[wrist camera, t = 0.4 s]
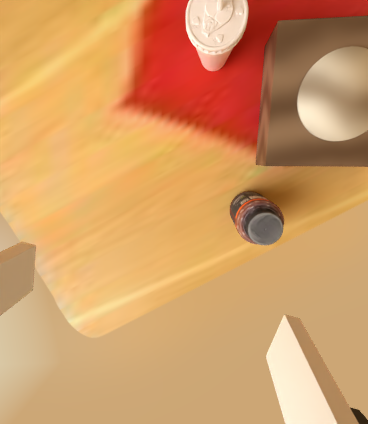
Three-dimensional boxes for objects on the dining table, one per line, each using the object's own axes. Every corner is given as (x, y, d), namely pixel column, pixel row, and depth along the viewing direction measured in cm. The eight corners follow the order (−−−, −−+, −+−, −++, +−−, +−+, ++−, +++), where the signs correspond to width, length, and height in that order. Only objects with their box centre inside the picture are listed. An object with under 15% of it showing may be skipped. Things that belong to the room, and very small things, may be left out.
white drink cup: (245, 47, 31) (276, -38, 17) (219, 90, 33) (227, 43, 19) (208, 20, 31) (208, -88, 17) (182, 65, 32) (165, -1, 19)
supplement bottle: (255, 231, 37) (275, 262, 26) (223, 216, 37) (229, 241, 26) (273, 199, 36) (302, 218, 25) (239, 184, 36) (254, 196, 25)
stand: (265, 46, 31) (279, 18, 25) (390, 40, 29) (439, 9, 23) (255, 164, 35) (266, 166, 28) (366, 165, 33) (402, 166, 27)
